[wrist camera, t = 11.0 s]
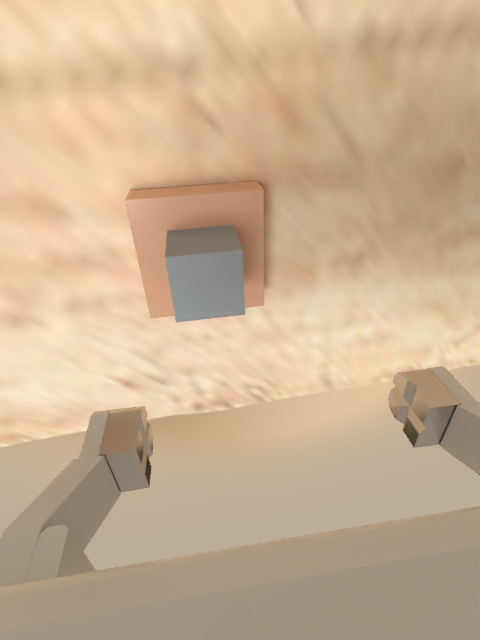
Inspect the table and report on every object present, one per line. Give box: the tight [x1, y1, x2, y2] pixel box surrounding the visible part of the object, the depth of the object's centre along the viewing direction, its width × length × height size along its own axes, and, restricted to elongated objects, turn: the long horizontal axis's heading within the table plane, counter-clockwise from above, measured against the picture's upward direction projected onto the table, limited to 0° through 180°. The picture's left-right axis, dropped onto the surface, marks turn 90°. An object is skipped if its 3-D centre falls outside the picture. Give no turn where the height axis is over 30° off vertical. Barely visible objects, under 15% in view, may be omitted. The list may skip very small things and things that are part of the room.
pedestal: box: [125, 181, 264, 318], centre depth 29 cm, size 10×10×3 cm
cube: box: [165, 225, 245, 322], centre depth 26 cm, size 5×5×5 cm
